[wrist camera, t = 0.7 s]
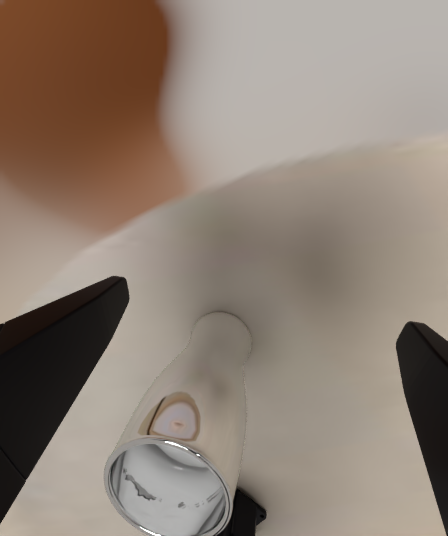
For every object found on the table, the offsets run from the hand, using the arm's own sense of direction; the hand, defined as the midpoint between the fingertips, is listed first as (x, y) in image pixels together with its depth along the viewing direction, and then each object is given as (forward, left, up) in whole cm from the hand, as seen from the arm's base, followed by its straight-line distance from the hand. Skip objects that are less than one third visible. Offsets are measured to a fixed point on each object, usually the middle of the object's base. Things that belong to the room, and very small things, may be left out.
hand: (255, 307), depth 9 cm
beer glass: (-11, -3, -16) cm, 20 cm away
